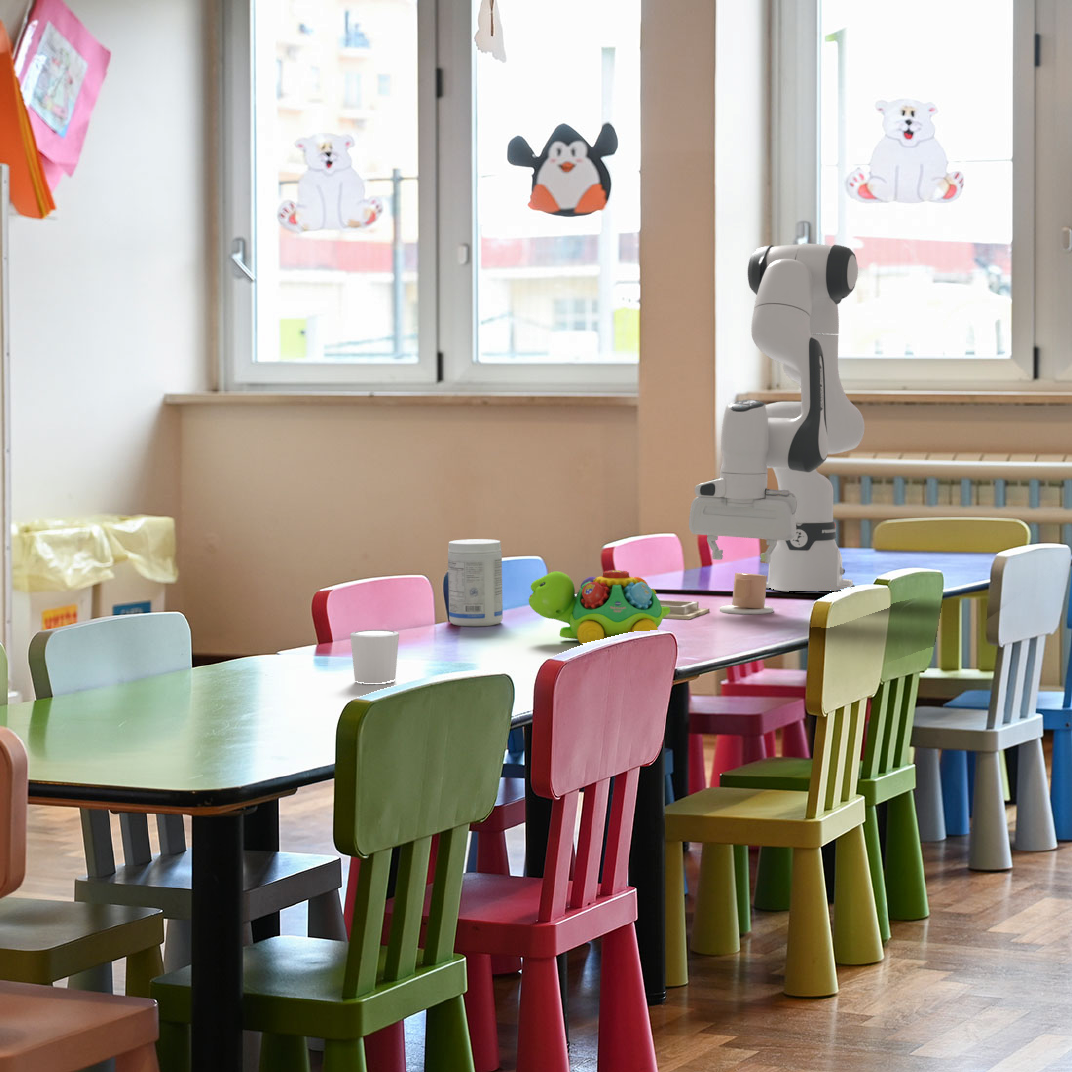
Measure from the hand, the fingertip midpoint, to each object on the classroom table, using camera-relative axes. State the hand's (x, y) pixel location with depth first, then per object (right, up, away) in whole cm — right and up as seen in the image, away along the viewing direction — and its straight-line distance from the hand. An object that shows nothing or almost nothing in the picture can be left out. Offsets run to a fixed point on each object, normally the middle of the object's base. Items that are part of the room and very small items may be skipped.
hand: (741, 561), depth 323 cm
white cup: (-61, -16, -80) cm, 102 cm away
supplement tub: (-49, -11, -18) cm, 53 cm away
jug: (+1, -8, -2) cm, 9 cm away
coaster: (+1, -9, 0) cm, 9 cm away
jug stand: (-14, -10, -5) cm, 18 cm away
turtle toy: (-28, -13, -40) cm, 50 cm away
